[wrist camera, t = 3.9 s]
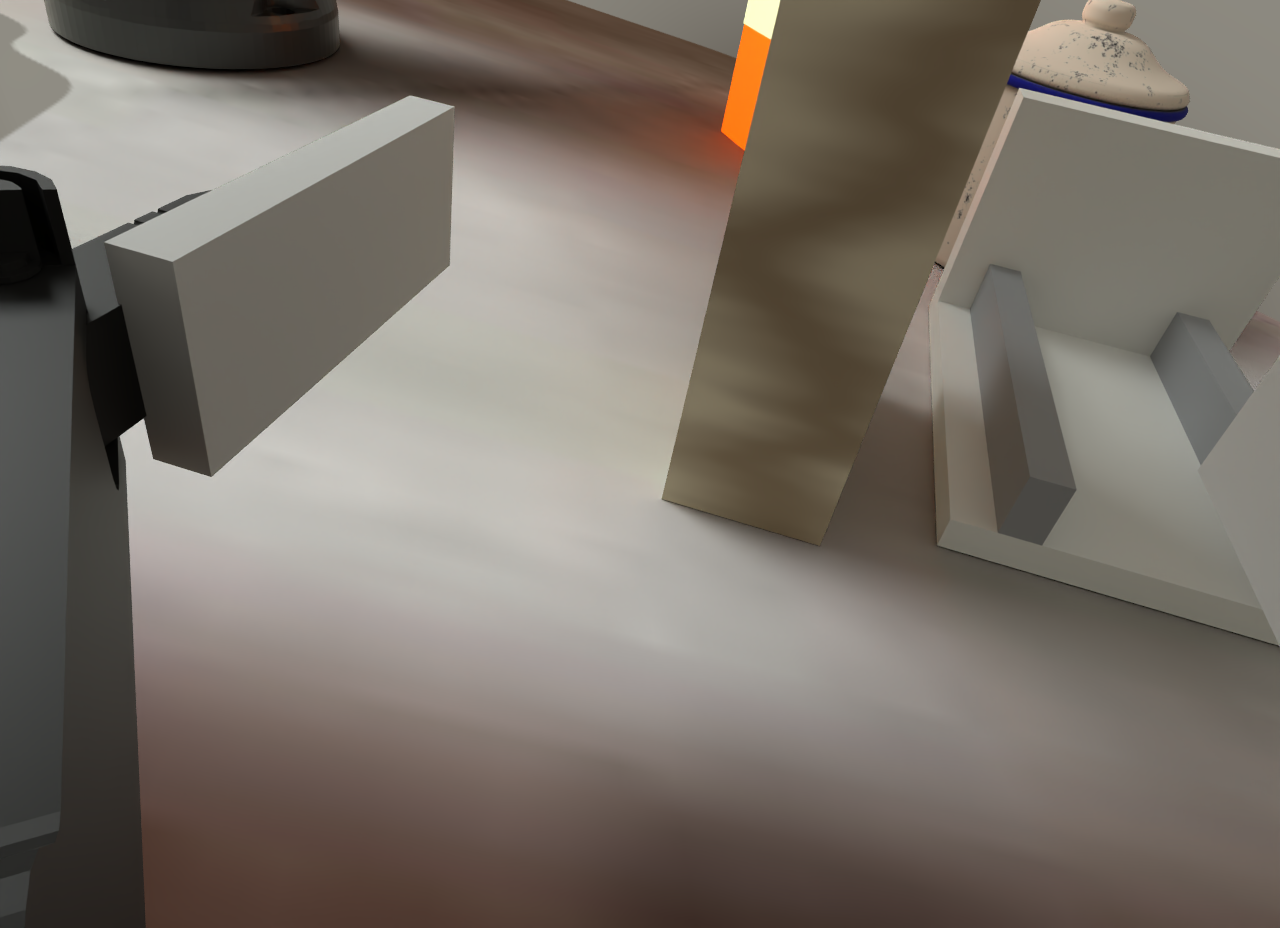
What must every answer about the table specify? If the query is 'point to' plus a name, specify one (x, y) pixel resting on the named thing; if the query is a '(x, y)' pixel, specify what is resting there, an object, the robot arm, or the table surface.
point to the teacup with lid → (1081, 81)
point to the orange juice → (749, 69)
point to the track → (1102, 354)
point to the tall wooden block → (833, 244)
